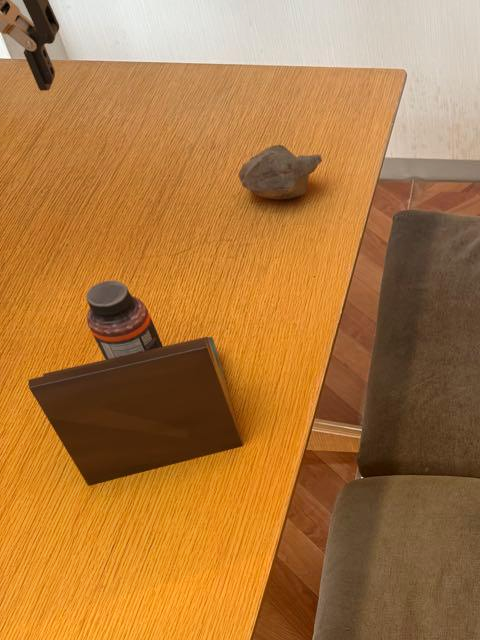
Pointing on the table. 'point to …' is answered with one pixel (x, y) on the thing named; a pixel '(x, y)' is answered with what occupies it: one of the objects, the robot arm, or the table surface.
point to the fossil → (278, 173)
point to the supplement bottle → (119, 321)
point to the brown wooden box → (140, 409)
